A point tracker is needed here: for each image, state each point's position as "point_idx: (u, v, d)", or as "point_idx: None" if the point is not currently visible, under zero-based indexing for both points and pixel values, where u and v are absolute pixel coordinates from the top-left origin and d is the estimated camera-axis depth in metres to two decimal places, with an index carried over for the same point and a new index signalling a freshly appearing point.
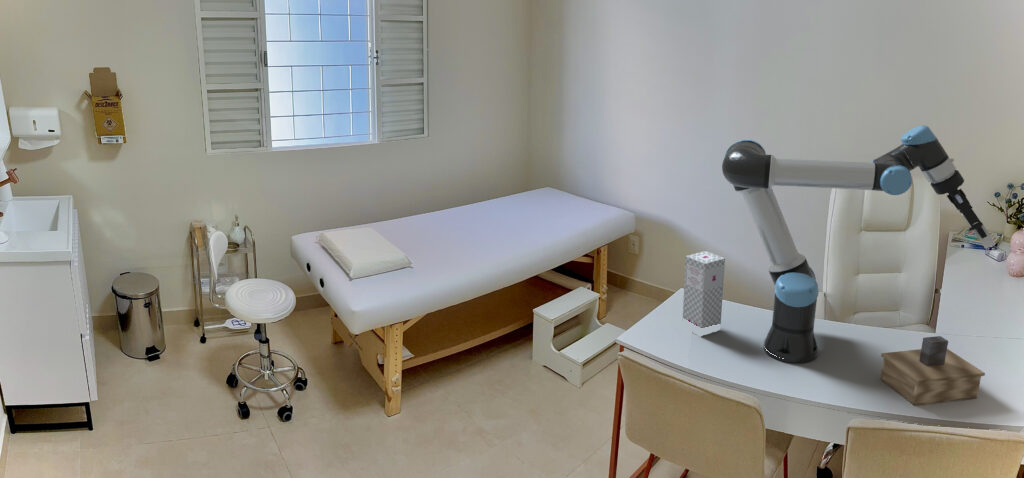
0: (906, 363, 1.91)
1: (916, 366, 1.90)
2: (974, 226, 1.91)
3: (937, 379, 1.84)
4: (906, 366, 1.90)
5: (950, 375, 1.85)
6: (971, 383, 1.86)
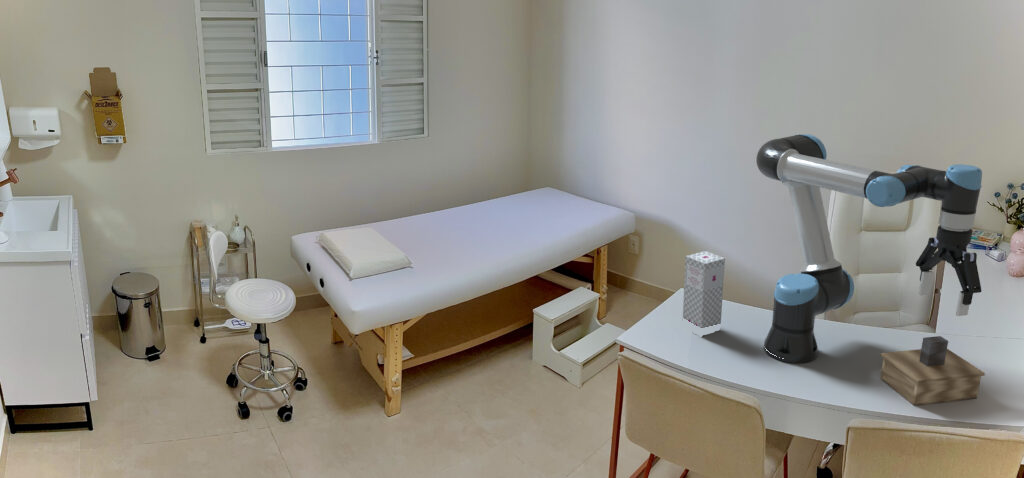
0: (906, 363, 1.91)
1: (916, 366, 1.90)
2: (974, 290, 1.74)
3: (937, 379, 1.84)
4: (906, 366, 1.90)
5: (950, 375, 1.85)
6: (971, 383, 1.86)
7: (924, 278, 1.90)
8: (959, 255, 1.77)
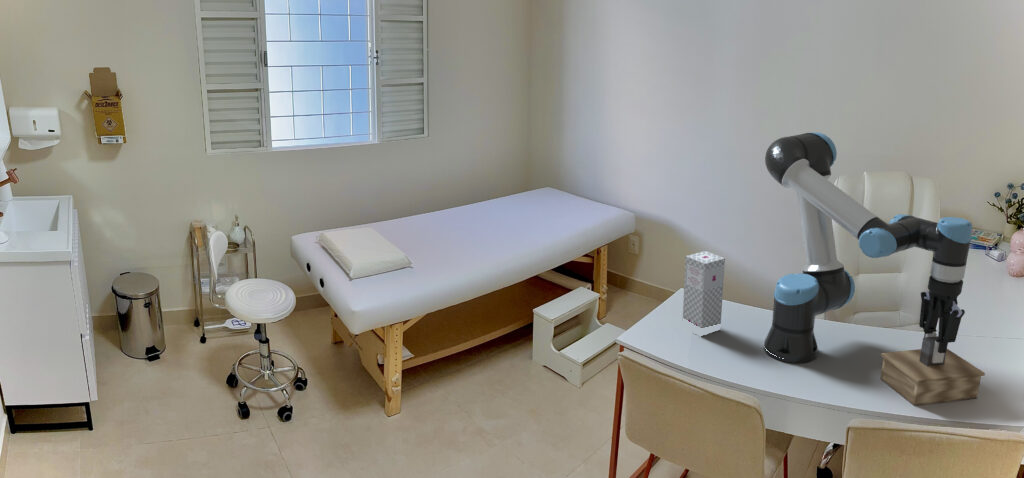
0: (906, 363, 1.91)
1: (916, 366, 1.90)
2: (948, 341, 1.83)
3: (937, 379, 1.84)
4: (906, 366, 1.90)
5: (950, 375, 1.85)
6: (971, 383, 1.86)
7: None
8: (950, 305, 1.81)
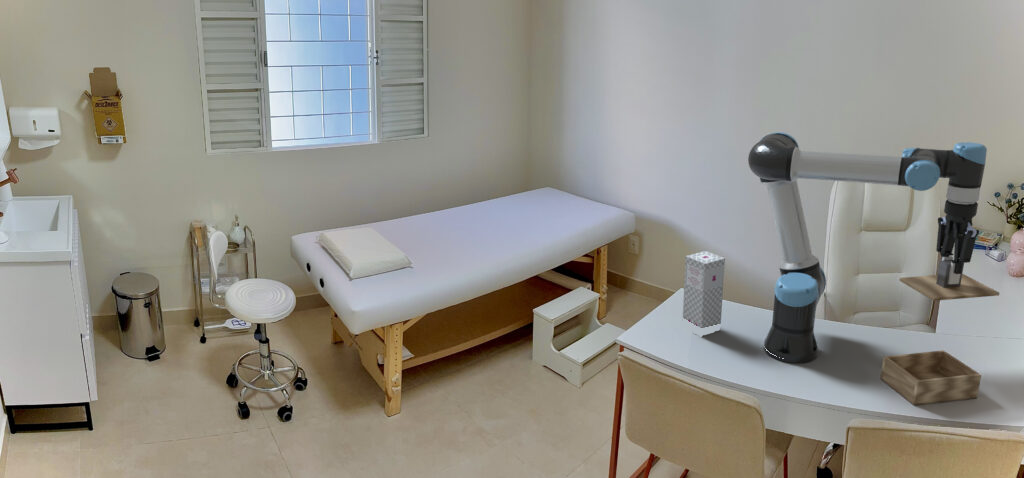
0: (923, 285, 2.01)
1: (933, 287, 1.99)
2: (963, 261, 1.93)
3: (952, 297, 1.93)
4: (923, 287, 1.99)
5: (965, 294, 1.94)
6: (971, 383, 1.86)
7: None
8: (965, 226, 1.91)
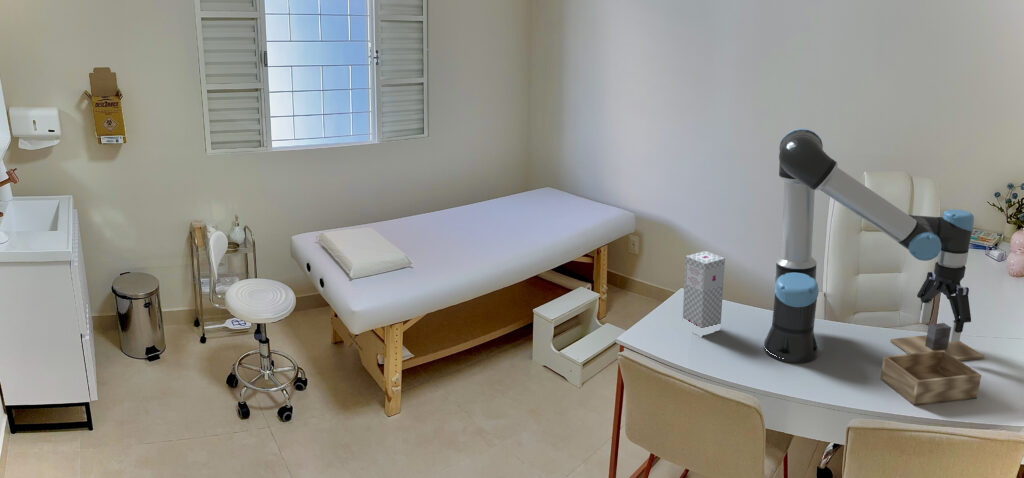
0: (913, 347, 2.13)
1: (922, 350, 2.12)
2: (965, 320, 2.00)
3: None
4: (914, 350, 2.12)
5: None
6: (971, 383, 1.86)
7: (924, 308, 2.15)
8: (954, 288, 2.03)
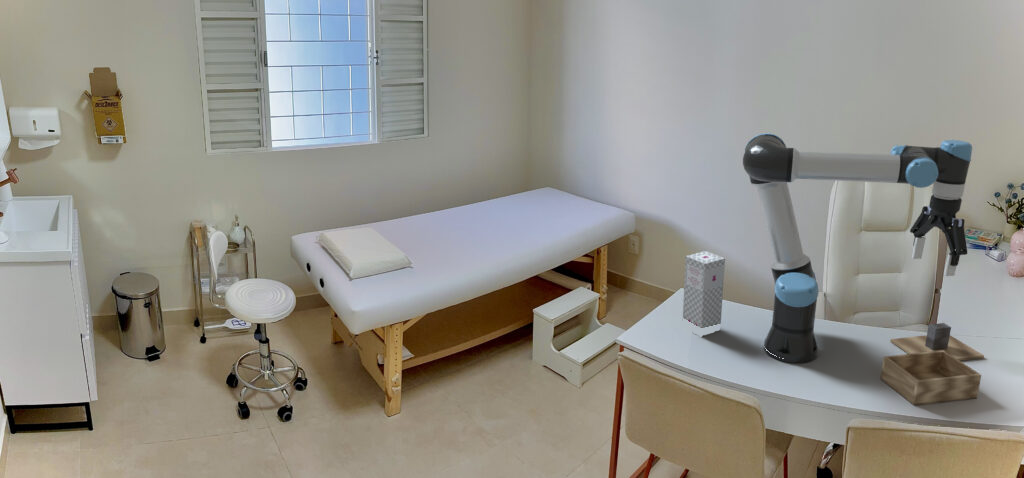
0: (913, 347, 2.13)
1: (922, 350, 2.12)
2: (961, 252, 1.95)
3: None
4: (914, 350, 2.12)
5: None
6: (971, 383, 1.86)
7: (917, 243, 2.11)
8: (949, 221, 1.98)
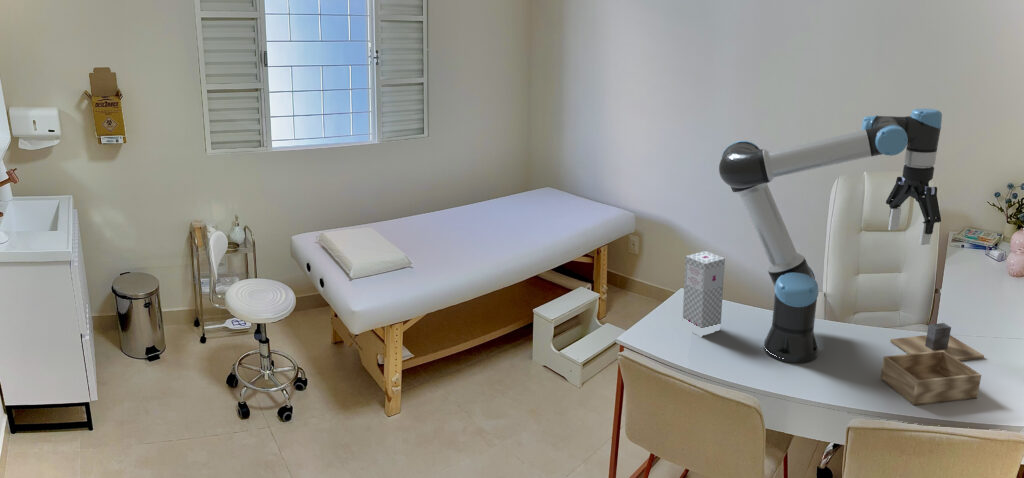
0: (913, 347, 2.13)
1: (922, 350, 2.12)
2: (934, 220, 1.95)
3: None
4: (914, 350, 2.12)
5: None
6: (971, 383, 1.86)
7: (893, 214, 2.11)
8: (922, 190, 1.98)
